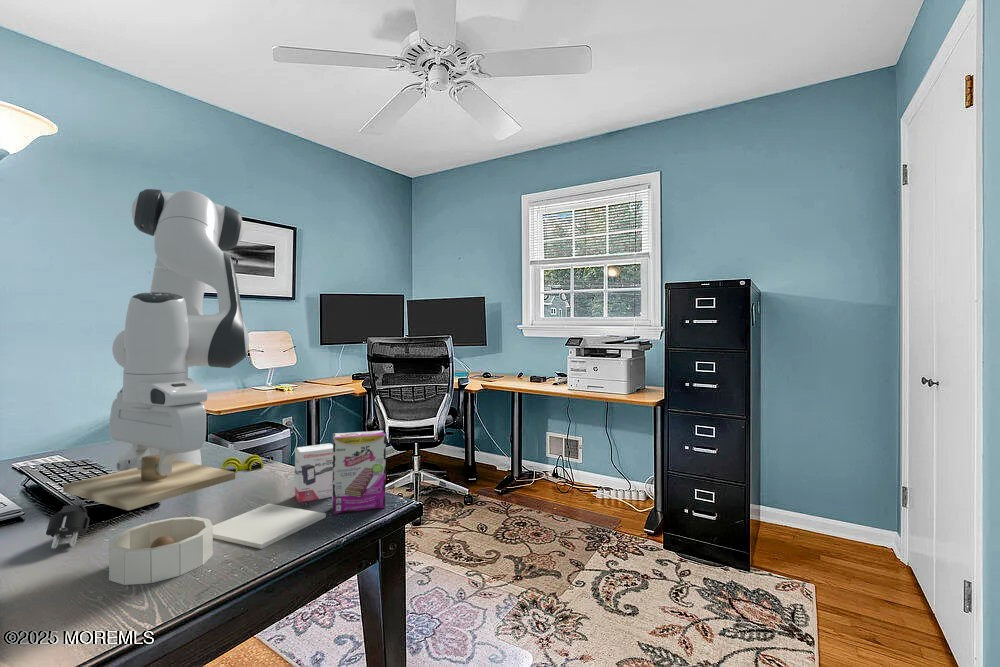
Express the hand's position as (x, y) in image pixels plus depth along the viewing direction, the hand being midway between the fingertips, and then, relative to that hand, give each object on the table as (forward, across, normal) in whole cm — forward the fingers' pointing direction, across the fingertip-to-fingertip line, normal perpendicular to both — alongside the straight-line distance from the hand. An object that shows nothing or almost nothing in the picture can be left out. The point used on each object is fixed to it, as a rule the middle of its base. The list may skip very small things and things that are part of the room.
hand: (154, 472), depth 81 cm
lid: (+2, 0, 0) cm, 2 cm away
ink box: (+15, +1, +36) cm, 39 cm away
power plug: (+18, -26, +3) cm, 32 cm away
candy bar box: (+15, +15, +34) cm, 40 cm away
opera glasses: (+16, -31, +42) cm, 55 cm away
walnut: (+13, +1, +1) cm, 13 cm away
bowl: (+15, +1, +1) cm, 15 cm away
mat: (+15, +4, +19) cm, 24 cm away
